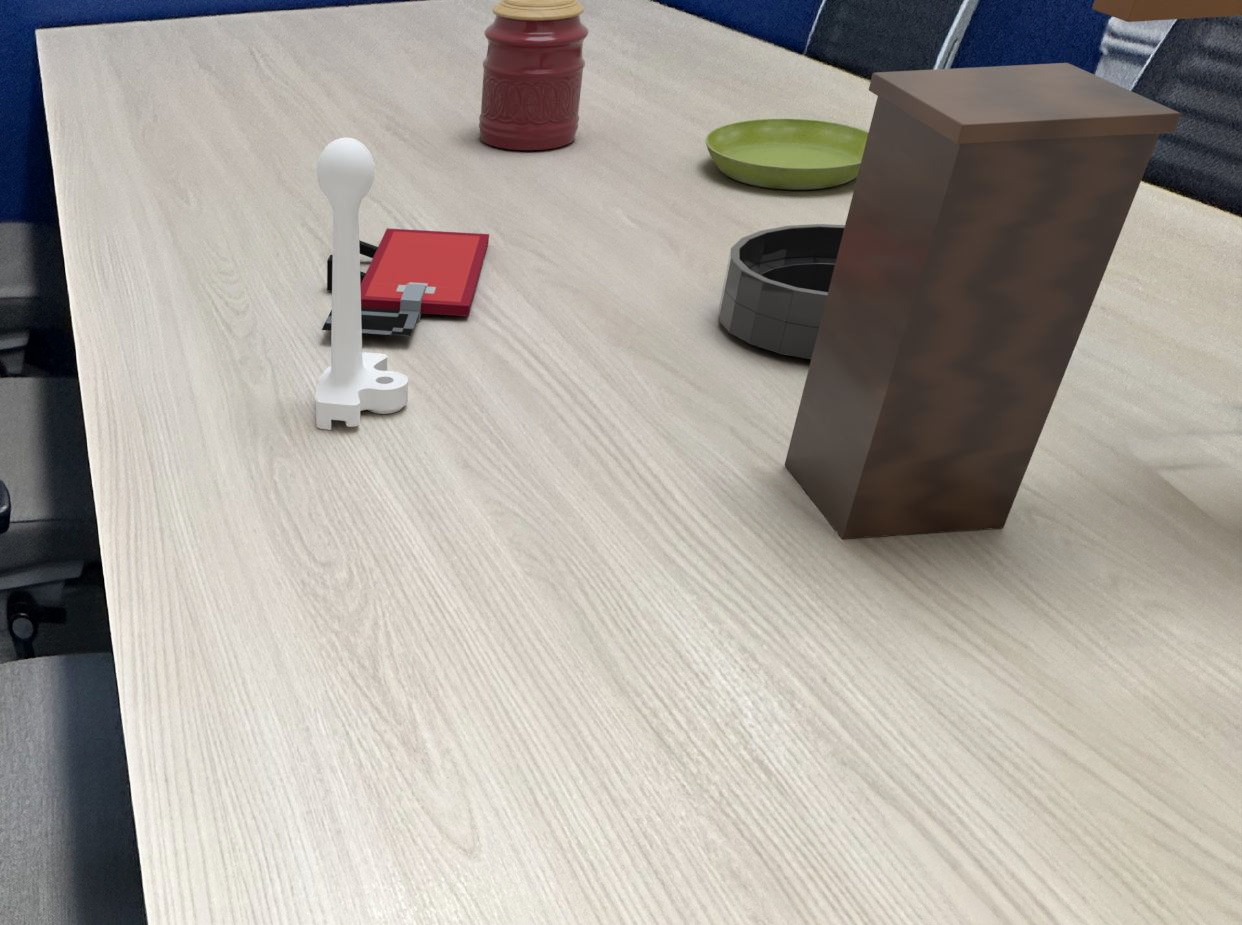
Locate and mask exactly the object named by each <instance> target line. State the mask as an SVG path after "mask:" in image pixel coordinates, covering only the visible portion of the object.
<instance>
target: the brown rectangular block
mask: <svg viewBox="0 0 1242 925" xmlns="http://www.w3.org/2000/svg"><path fill="white" fill-rule="evenodd" d="M1091 8H1092V10H1093V11H1096V12H1099V13H1102V14H1104V15H1107V16H1109V17H1112V18H1116V19H1119V20H1121V21H1124V22H1127V23H1133V22H1134V23H1135V22H1137V23H1138V22H1152V21H1172V20H1186V19H1187V20H1189V19H1207V18H1220V17H1221V18H1223V17H1238V16H1242V0H1094V1H1093V4H1092V6H1091Z"/></svg>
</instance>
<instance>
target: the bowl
mask: <svg viewBox="0 0 1242 925" xmlns="http://www.w3.org/2000/svg"><path fill="white" fill-rule="evenodd" d="M844 228H845V224H829V223H827V224H826V223H813V224H812V223H811V224H796V225H784V226H778V227H772V228H767V229H762V230H758V231H756V232H753V233H751V234H748V235H746V236H743V237H742V238H740V239H739V240H737V242H735V244H734V245H733V246H732V247H730V250H729V256H728V261H727V264H726V271H725V275H724V279H723V280H724V281H723V287H722V291H721V295H720V302H719V306H718V307H719V308H718V321H719V322H720V324H721V325H722V326H723V327H724V328H725V329H726V331H727V332H728V333H729V334H731V335H733V336H734V337H737V339H740V340H742V341H744V342H745V343H747V344H749V345H752V346H754V347H757V348H760V349H764V350H767V351H770V352H774V353H776V354H779V355H784V356H790V357H795V358H800V359H805V360H811V358H812V354H813V350H814V346H815V342H816V338H817V334H818V330H819V326H820V322H821V319H822V315H823V311H824V307H825V303H826V299H827V295H828V291H829V287H830V283H831V279H832V275H833V271H834V267H835V263H836V259H837V255H838V251H839V247H840V243H841V240H842V236H843V232H844Z"/></svg>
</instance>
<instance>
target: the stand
mask: <svg viewBox="0 0 1242 925" xmlns="http://www.w3.org/2000/svg"><path fill="white" fill-rule="evenodd" d="M868 91H869V92H870V93H872V94H874V95H876V96H877V98H876V102H875V106H874V109H873V114H872V118H871V121H870V124H869V129H868V132H869V133H868V137H867V141H866V145H865V149H864V153H863V157H862V160H861V164H860V168H859V172H858V176H857V177H856V180H855V184H854V188H853V193H852V196H851V201H850V204H849V208H848V212H847V216H846V220H845V223H844V225H845V228H844V232H843V236H842V240H841V243H840V247H839V251H838V255H837V259H836V263H835V267H834V271H833V275H832V279H831V283H830V287H829V291H828V295H827V299H826V303H825V307H824V311H823V315H822V319H821V322H820V326H819V330H818V334H817V338H816V342H815V346H814V350H813V354H812V358H811V359H810V362H809V366H808V371H807V375H806V378H805V382H804V385H803V389H802V393H801V399H800V402H799V406H798V410H797V414H796V417H795V421H794V424H793V429H792V433H791V437H790V442H789V445H788V449H787V452H786V453H787V454H786V457H785V461H784V467H785V468H787V470H788V471H789V473H791V475H792V476H793V477H794V479H795V480H796V482H797V483H798V484H799V485H800V486H801V488H802V489H803V491H804V492H805V493H806V494H807V495H808V497H809V498H810V500H811V501H812V502H813V503H814V505H815V506H816V507H817V508H818V510H819V511H820V512H821V514H822V515H823V516H824V518H825V519H826V520H827V521H828V522H829V524H830V525H831V526H832V528H833V529H834V530H835V532H836V533H837V534H838V535H839V537H840V538H841V539H842V540H845V539H847V540H848V539H860V538H875V537H876V538H877V537H889V536H890V537H891V536H904V535H905V536H906V535H920V534H921V535H922V534H936V533H951V532H967V531H980V530H981V531H982V530H995V529H996V530H997V529H998V530H999V529H1004V528H1005V526H1006V523H1007V520H1008V518H1009V515H1010V513H1011V511H1012V507H1013V505H1014V502H1015V500H1016V497H1017V495H1018V493H1019V490H1020V487H1021V485H1022V482H1023V480H1024V477H1025V475H1026V472H1027V469H1028V467H1029V464H1030V463H1031V460H1032V457H1033V455H1034V452H1035V450H1036V447H1037V444H1038V442H1039V439H1040V437H1041V434H1042V432H1043V430H1044V427H1045V424H1046V422H1047V419H1048V417H1049V414H1050V412H1051V409H1052V407H1053V404H1054V401H1055V399H1056V396H1057V394H1058V392H1059V389H1060V386H1061V384H1062V381H1063V379H1064V376H1065V374H1066V371H1067V369H1068V366H1069V364H1070V361H1071V358H1072V356H1073V353H1074V351H1075V348H1076V346H1077V344H1078V341H1079V338H1080V337H1081V334H1082V331H1083V329H1084V326H1085V323H1086V321H1087V318H1088V316H1089V313H1090V311H1091V308H1092V306H1093V304H1094V301H1095V299H1096V296H1097V294H1098V290H1099V288H1100V285H1101V283H1102V281H1103V278H1104V275H1105V273H1106V270H1107V268H1108V265H1109V263H1110V260H1111V258H1112V255H1113V253H1114V250H1115V248H1116V245H1117V244H1118V240H1119V238H1120V235H1121V232H1122V230H1123V227H1124V225H1125V223H1126V221H1127V218H1128V215H1129V212H1130V210H1131V207H1132V204H1133V202H1134V200H1135V197H1136V196H1137V192H1138V189H1139V188H1140V184H1141V183H1142V180H1143V177H1144V174H1145V172H1146V169H1147V167H1148V164H1149V162H1150V160H1151V157H1152V154H1153V151H1154V149H1155V147H1156V144H1157V142H1158V139H1159V136H1160V135H1161V134H1173V133H1175V131H1176V128H1177V126H1178V123H1179V121H1180V119H1181V116H1182V113H1181V112H1179V111H1177V110H1174V109H1172V108H1170V107H1168V106H1165V105H1163V104H1161V103H1159V102H1157V101H1154V100H1153V99H1150V98H1147V97H1145V96H1143V95H1141V94H1140V93H1139V94H1138V93H1136V92H1134V91H1132V90H1129V89H1128V88H1125V87H1123V86H1120V85H1118V84H1116V83H1114V82H1111V81H1109V80H1107V79H1105V78H1103V77H1100V76H1098V75H1096V74H1093V73H1091V72H1089V71H1086V70H1085V69H1082V68H1080V67H1078V66H1075V65H1073V64H1070V62H1055V63H1035V64H1018V65H1014V64H1013V65H997V66H995V65H994V66H979V67H976V66H975V67H958V68H957V67H956V68H939V69H938V68H936V69H918V70H917V69H916V70H899V71H897V70H896V71H879V72H872V74H871V79H870V82H869V87H868Z"/></svg>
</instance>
